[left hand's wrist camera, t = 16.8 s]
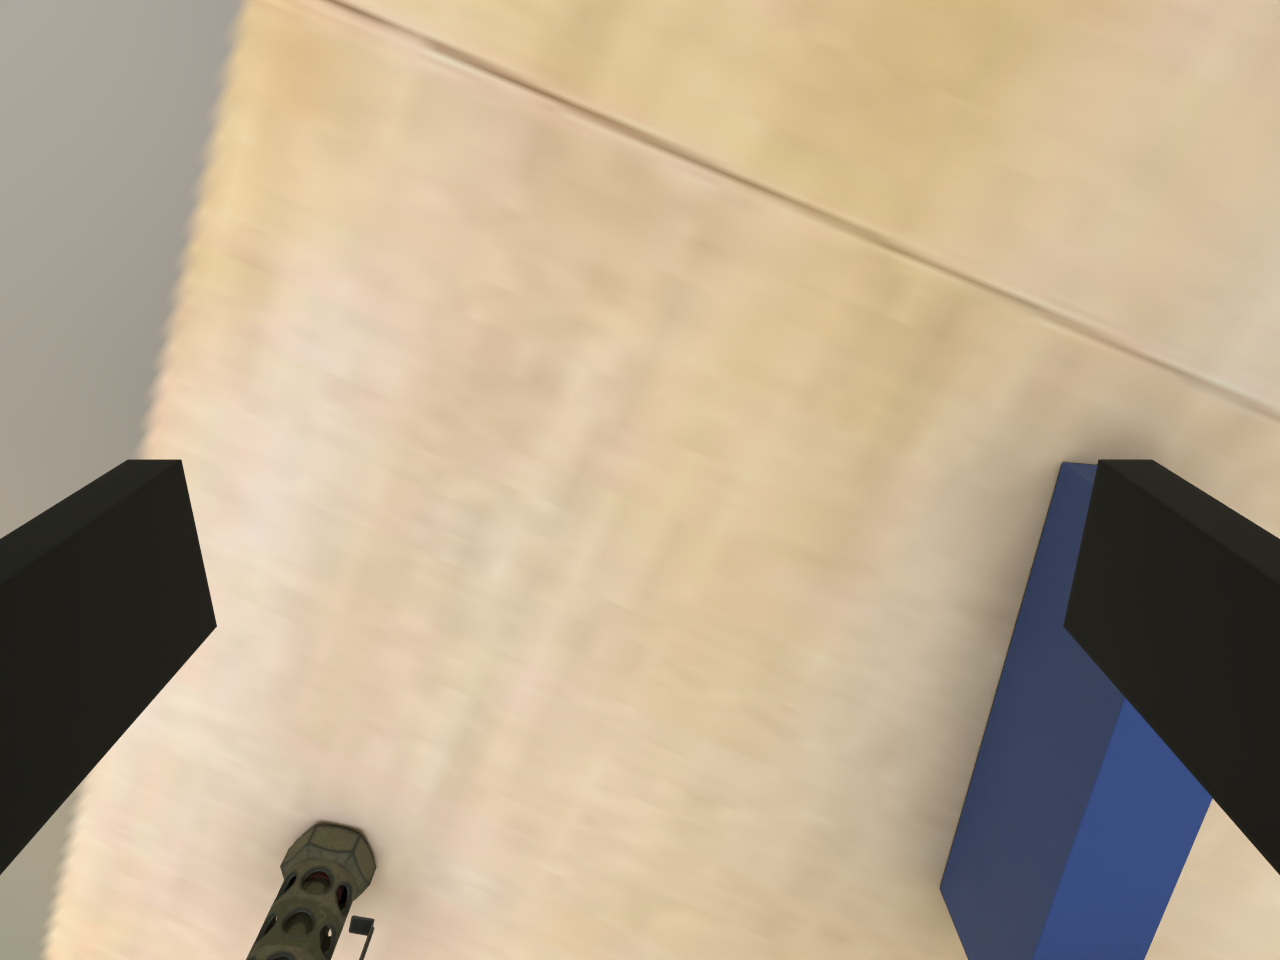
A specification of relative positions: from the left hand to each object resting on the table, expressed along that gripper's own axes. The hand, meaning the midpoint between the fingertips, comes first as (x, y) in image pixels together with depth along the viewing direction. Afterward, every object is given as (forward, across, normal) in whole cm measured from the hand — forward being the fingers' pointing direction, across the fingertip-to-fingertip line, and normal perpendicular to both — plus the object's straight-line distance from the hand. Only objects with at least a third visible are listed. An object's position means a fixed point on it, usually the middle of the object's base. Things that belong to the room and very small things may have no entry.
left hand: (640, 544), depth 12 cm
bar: (+27, +22, -22) cm, 41 cm away
